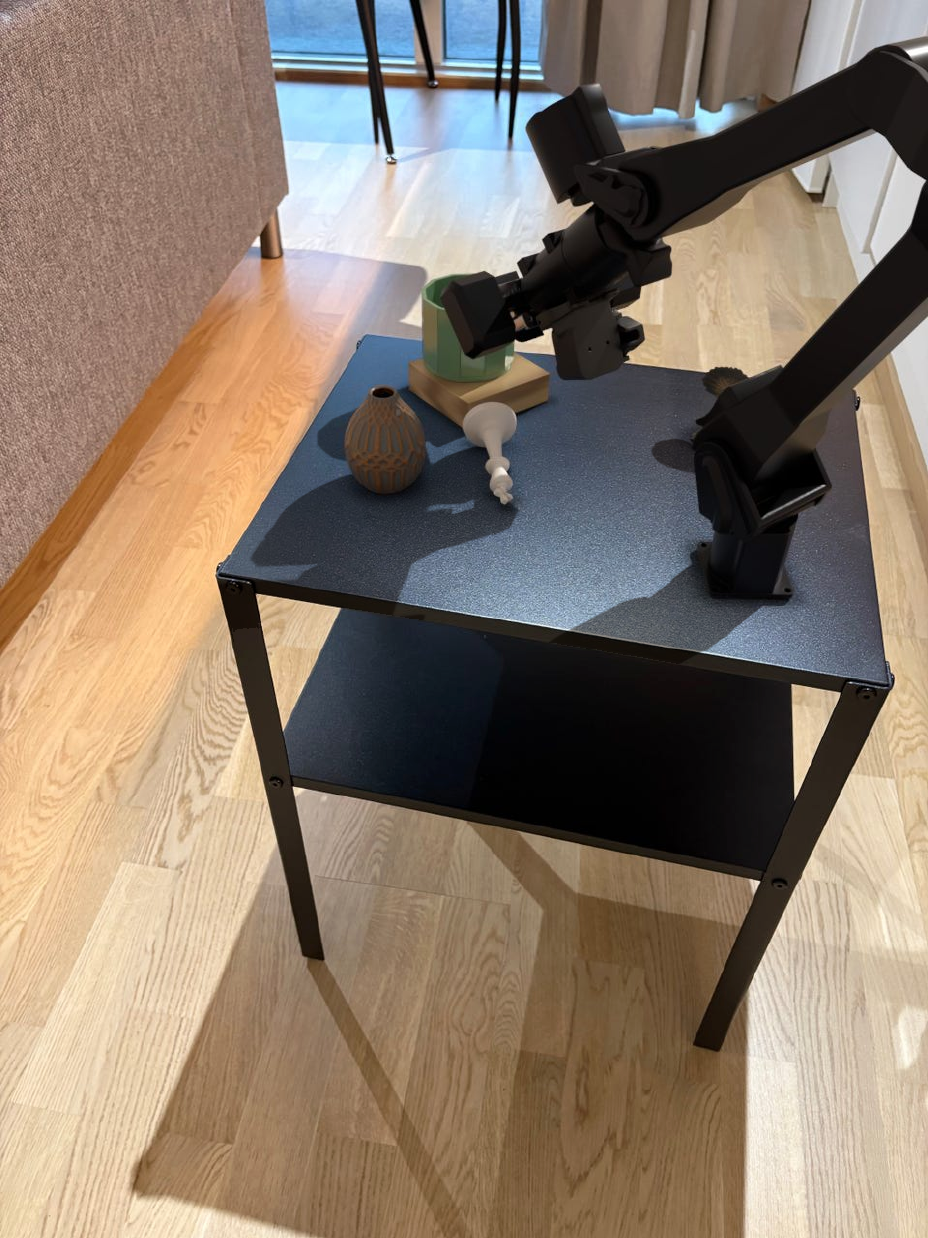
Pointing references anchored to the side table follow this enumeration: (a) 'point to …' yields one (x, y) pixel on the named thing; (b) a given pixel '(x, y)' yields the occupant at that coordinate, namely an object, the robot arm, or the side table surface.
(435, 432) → the side table surface
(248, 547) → the side table surface
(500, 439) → the chess piece
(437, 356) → the cup
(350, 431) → the vase
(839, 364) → the robot arm
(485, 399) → the block
